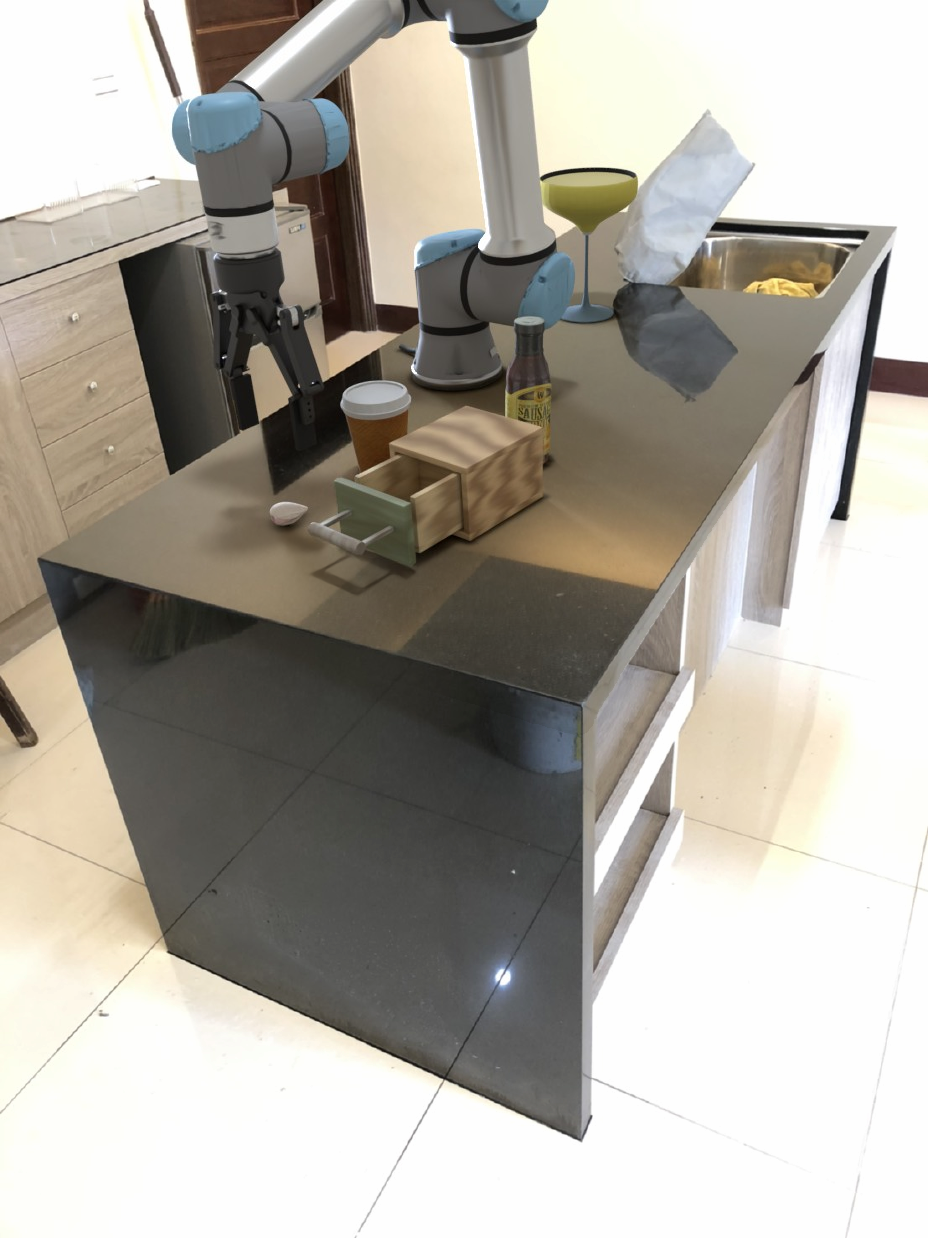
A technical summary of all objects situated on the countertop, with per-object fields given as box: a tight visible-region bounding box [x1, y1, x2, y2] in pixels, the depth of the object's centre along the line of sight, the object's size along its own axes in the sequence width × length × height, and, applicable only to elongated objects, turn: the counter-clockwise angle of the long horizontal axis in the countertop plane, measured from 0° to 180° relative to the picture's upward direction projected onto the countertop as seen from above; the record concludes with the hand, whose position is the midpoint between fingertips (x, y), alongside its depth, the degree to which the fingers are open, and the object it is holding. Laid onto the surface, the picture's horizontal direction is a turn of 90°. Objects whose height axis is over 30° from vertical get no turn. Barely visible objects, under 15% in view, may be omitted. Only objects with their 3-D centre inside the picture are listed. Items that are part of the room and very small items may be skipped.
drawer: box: [307, 453, 464, 568], centre depth 121 cm, size 20×12×8 cm, turn 139°
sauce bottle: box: [504, 316, 552, 465], centre depth 136 cm, size 6×6×20 cm
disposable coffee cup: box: [339, 380, 412, 474], centre depth 137 cm, size 10×10×12 cm
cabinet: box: [389, 405, 544, 542], centre depth 129 cm, size 15×13×10 cm
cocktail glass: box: [540, 166, 639, 324], centre depth 189 cm, size 18×18×25 cm
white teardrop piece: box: [269, 501, 309, 526], centre depth 130 cm, size 4×5×2 cm
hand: (277, 436), depth 124 cm, fingers open, 10 cm apart
